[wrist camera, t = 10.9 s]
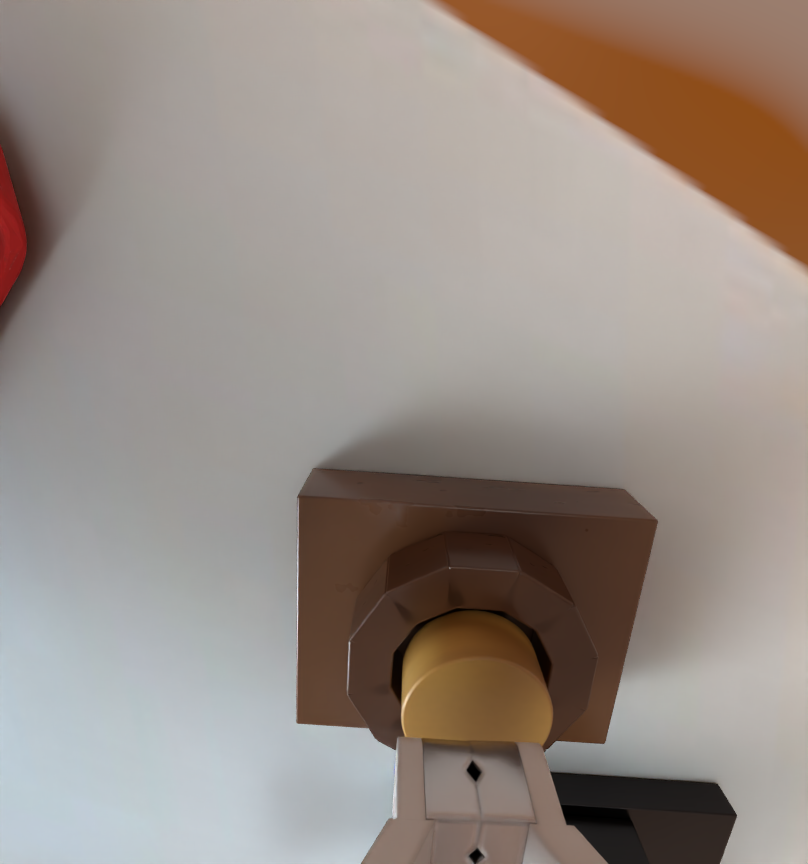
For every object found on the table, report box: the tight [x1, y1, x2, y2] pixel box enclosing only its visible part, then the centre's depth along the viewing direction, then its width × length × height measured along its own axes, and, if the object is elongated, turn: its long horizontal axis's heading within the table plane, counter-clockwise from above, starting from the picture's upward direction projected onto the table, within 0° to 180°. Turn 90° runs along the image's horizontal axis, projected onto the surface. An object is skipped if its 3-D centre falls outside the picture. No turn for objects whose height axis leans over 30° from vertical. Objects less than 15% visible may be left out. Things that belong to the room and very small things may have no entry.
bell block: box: [296, 468, 658, 752], centre depth 15 cm, size 10×8×4 cm
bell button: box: [401, 610, 553, 746], centre depth 12 cm, size 4×4×2 cm
